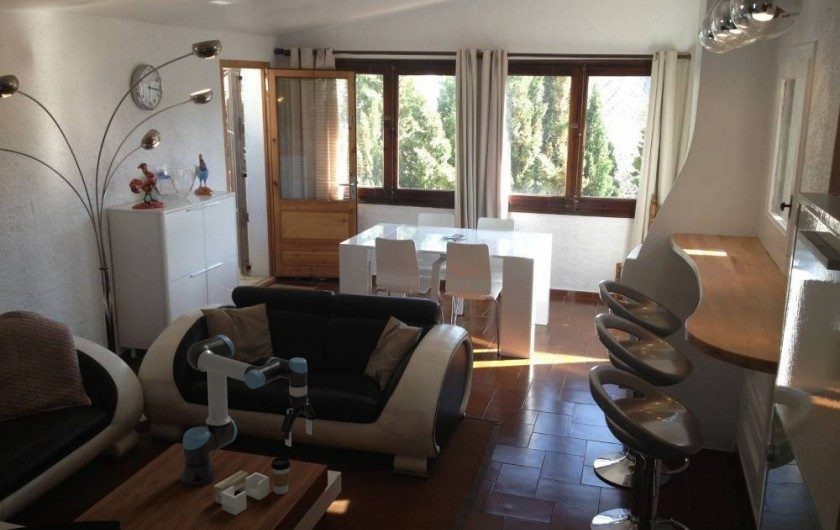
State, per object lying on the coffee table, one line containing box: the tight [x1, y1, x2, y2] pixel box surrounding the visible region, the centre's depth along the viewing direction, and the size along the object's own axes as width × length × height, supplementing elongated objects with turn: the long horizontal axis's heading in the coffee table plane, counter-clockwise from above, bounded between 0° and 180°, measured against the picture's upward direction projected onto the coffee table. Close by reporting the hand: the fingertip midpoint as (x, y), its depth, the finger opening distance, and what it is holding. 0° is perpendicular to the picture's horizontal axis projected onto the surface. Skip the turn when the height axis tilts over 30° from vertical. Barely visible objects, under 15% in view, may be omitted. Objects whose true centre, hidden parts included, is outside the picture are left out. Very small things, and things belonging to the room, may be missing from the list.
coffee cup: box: [270, 456, 291, 495], centre depth 334 cm, size 8×8×15 cm
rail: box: [214, 470, 249, 499], centre depth 329 cm, size 4×16×5 cm, turn 149°
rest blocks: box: [214, 485, 246, 505], centre depth 330 cm, size 5×15×3 cm, turn 149°
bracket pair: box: [221, 472, 271, 516], centre depth 325 cm, size 8×21×8 cm, turn 149°
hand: (298, 439), depth 324 cm, fingers open, 13 cm apart
